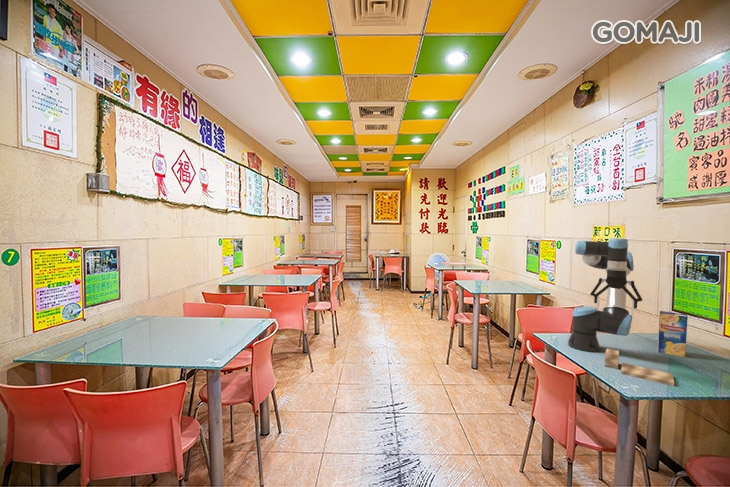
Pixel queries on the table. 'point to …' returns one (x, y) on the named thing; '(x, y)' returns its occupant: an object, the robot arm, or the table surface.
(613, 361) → the block
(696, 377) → the table surface
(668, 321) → the blue food box
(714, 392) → the table surface
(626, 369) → the board
